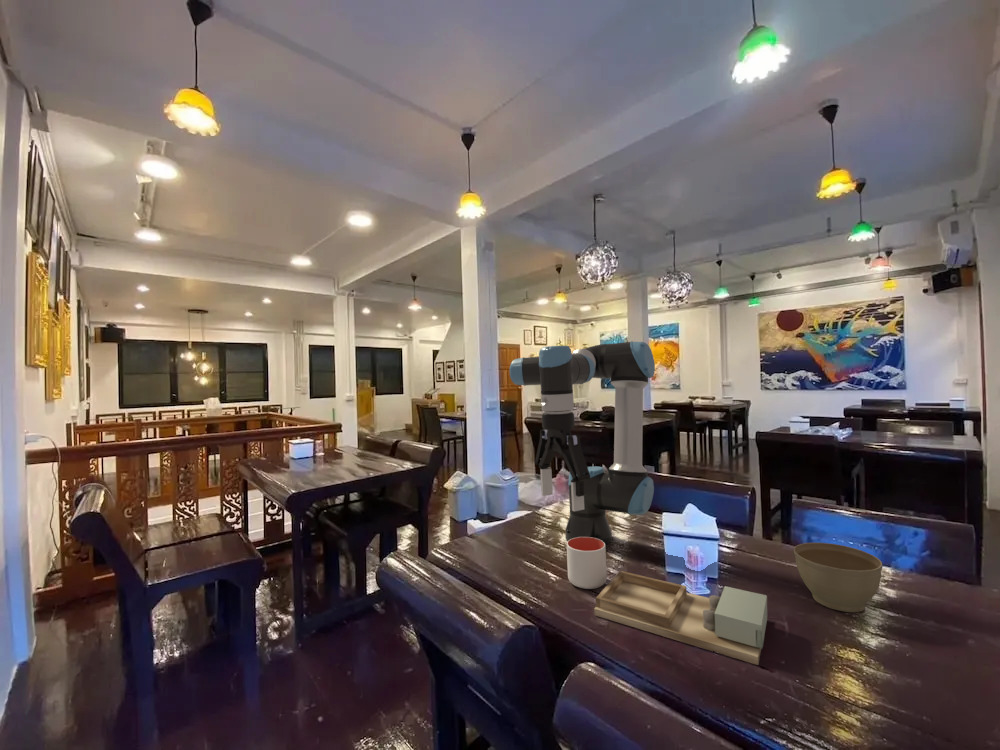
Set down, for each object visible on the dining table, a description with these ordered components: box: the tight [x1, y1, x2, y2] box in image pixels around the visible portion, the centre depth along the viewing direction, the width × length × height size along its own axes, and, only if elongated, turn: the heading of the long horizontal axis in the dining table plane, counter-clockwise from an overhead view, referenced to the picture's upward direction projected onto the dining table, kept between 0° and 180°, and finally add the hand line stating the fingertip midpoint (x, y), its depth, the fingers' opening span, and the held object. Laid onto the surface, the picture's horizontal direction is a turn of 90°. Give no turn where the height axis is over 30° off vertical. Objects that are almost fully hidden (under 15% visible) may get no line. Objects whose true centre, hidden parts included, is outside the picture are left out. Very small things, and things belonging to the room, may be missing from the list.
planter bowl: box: [793, 542, 883, 613], centre depth 100 cm, size 16×16×11 cm
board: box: [593, 570, 762, 666], centre depth 97 cm, size 18×32×4 cm, turn 55°
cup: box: [566, 537, 608, 590], centre depth 115 cm, size 10×10×10 cm
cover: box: [715, 585, 769, 650], centre depth 90 cm, size 13×8×4 cm, turn 145°
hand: (561, 502), depth 103 cm, fingers open, 13 cm apart
